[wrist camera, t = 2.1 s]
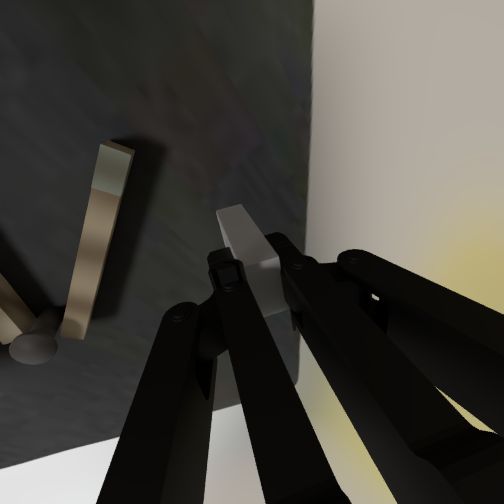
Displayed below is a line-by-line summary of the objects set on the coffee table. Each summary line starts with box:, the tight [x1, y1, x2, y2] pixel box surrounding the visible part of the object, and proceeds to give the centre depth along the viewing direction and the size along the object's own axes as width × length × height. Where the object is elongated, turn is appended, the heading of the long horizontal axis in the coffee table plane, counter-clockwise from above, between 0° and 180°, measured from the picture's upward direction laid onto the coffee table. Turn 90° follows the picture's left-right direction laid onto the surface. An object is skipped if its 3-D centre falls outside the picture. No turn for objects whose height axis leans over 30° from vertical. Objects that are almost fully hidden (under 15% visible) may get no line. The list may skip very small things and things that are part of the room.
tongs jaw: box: [60, 140, 135, 339], centre depth 29 cm, size 22×2×3 cm, turn 156°
